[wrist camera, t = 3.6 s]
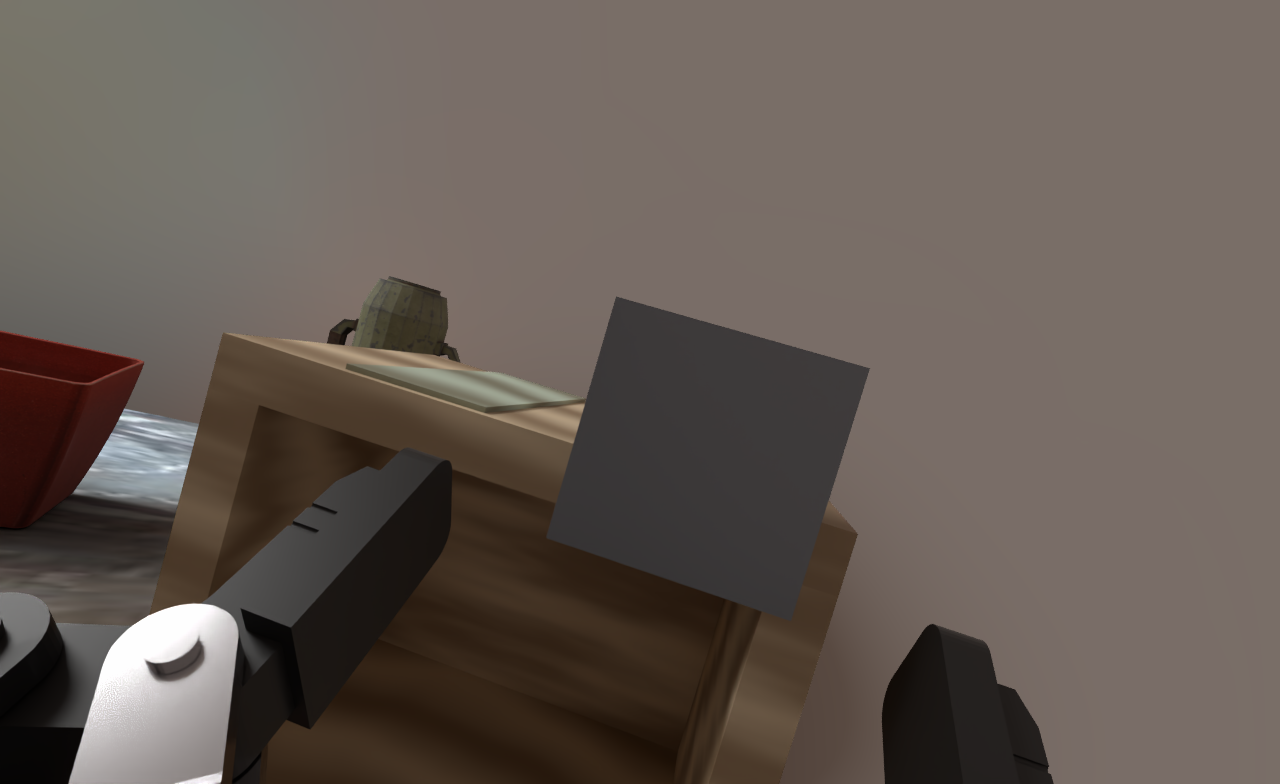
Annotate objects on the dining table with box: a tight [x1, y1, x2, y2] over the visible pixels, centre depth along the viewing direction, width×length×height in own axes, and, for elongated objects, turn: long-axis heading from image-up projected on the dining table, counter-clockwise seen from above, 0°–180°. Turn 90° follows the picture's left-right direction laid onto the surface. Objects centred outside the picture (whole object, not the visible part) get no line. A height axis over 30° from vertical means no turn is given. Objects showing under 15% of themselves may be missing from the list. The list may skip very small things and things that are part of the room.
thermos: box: [327, 277, 460, 363], centre depth 60 cm, size 9×12×35 cm
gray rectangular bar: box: [546, 297, 870, 621], centre depth 23 cm, size 26×5×5 cm, turn 172°
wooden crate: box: [149, 333, 858, 784], centre depth 29 cm, size 16×22×31 cm
